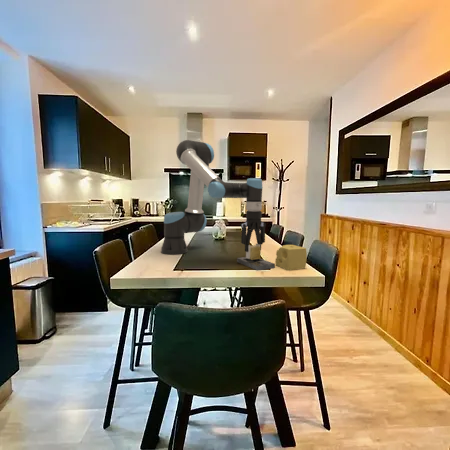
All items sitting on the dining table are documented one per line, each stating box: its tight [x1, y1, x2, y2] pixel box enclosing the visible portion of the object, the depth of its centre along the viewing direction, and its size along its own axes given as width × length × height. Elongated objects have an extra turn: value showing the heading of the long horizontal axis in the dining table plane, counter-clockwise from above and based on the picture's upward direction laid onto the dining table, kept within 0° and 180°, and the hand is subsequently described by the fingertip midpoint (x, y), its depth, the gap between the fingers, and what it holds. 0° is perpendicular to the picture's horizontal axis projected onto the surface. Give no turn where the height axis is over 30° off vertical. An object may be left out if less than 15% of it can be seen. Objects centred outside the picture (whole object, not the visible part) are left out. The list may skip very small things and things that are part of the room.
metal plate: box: [236, 256, 276, 271], centre depth 136 cm, size 18×10×2 cm, turn 28°
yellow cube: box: [250, 244, 262, 260], centre depth 137 cm, size 5×5×6 cm
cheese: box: [274, 244, 308, 271], centre depth 132 cm, size 10×11×10 cm
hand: (252, 257), depth 138 cm, fingers closed on yellow cube, 5 cm apart
